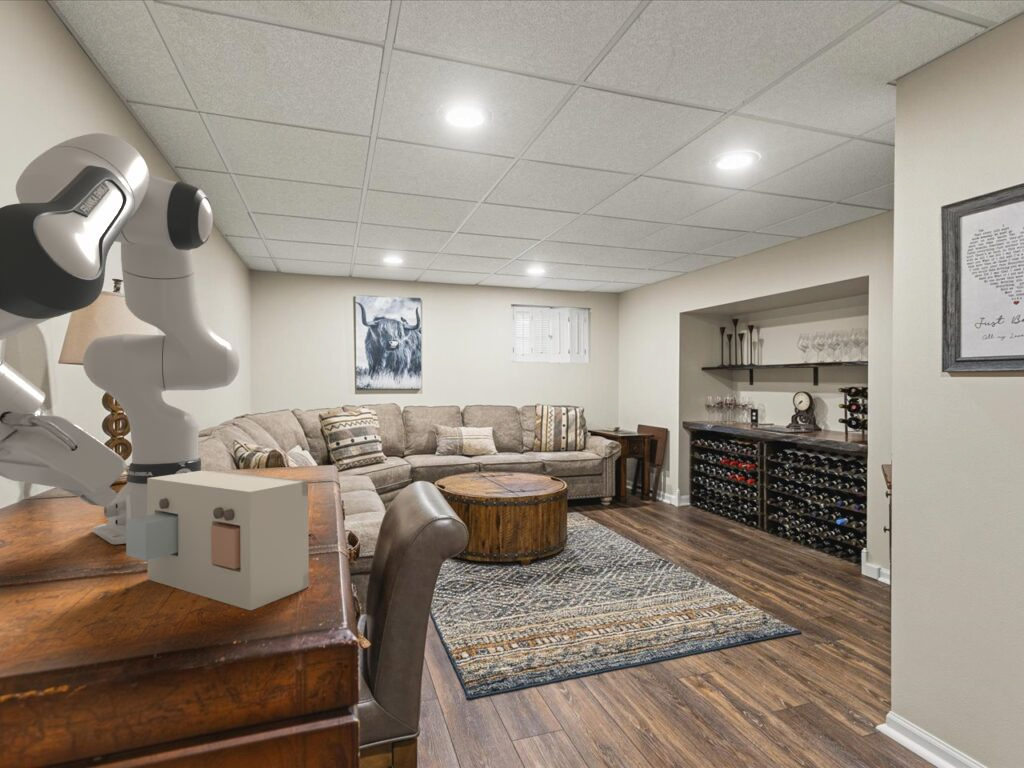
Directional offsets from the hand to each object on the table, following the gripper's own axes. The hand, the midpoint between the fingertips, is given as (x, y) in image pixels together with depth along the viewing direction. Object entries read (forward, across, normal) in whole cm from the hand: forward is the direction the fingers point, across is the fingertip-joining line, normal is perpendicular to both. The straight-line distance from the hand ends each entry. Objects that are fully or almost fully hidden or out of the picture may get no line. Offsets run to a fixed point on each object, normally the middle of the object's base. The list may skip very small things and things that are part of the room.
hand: (105, 500), depth 58 cm
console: (+24, +7, -2) cm, 26 cm away
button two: (+20, 0, -5) cm, 21 cm away
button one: (+18, +14, -2) cm, 23 cm away
